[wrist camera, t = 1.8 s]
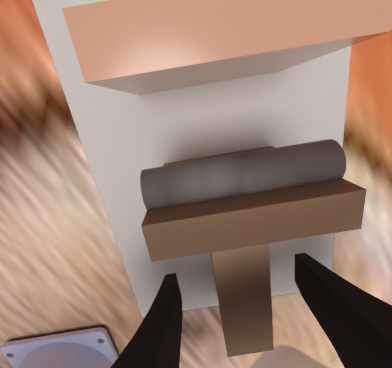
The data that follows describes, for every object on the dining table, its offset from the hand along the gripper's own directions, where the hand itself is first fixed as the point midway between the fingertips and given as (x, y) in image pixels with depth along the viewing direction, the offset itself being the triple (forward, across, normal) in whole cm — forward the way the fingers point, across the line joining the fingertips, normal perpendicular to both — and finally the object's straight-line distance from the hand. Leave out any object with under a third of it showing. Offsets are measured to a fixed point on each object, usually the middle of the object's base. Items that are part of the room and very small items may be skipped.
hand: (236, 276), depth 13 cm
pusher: (+2, 0, -3) cm, 3 cm away
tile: (+2, 0, -12) cm, 12 cm away
